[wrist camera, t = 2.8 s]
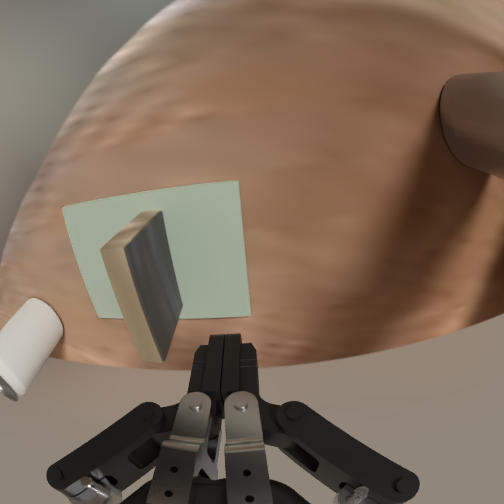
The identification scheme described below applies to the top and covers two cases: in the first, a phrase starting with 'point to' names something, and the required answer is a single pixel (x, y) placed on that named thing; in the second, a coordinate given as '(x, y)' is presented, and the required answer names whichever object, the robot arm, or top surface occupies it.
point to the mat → (172, 245)
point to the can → (27, 346)
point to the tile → (145, 283)
